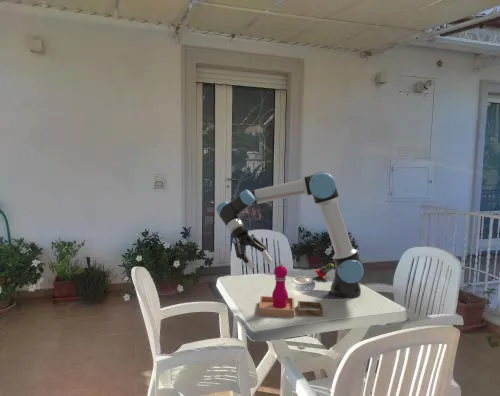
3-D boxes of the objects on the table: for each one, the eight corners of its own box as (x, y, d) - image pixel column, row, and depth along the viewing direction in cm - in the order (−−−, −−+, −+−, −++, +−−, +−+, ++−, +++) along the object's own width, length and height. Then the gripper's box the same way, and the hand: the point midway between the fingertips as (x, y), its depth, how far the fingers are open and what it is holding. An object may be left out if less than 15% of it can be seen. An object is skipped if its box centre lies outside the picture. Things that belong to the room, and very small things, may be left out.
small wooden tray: (320, 307, 183) (320, 302, 183) (322, 316, 172) (323, 310, 172) (297, 306, 184) (297, 300, 183) (298, 315, 173) (298, 309, 173)
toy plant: (326, 286, 228) (338, 274, 221) (311, 279, 226) (323, 267, 219) (325, 275, 234) (337, 263, 228) (311, 269, 232) (322, 257, 226)
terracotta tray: (293, 303, 186) (293, 297, 186) (294, 317, 171) (294, 310, 171) (260, 302, 188) (260, 296, 187) (258, 315, 172) (258, 308, 172)
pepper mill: (277, 301, 186) (279, 259, 184) (290, 305, 182) (291, 262, 180) (268, 305, 181) (269, 262, 179) (281, 309, 176) (282, 265, 174)
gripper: (223, 228, 180) (248, 266, 172) (258, 221, 199) (281, 255, 191) (215, 237, 184) (239, 275, 176) (249, 230, 203) (272, 264, 195)
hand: (261, 265), depth 184 cm, fingers open, 13 cm apart
